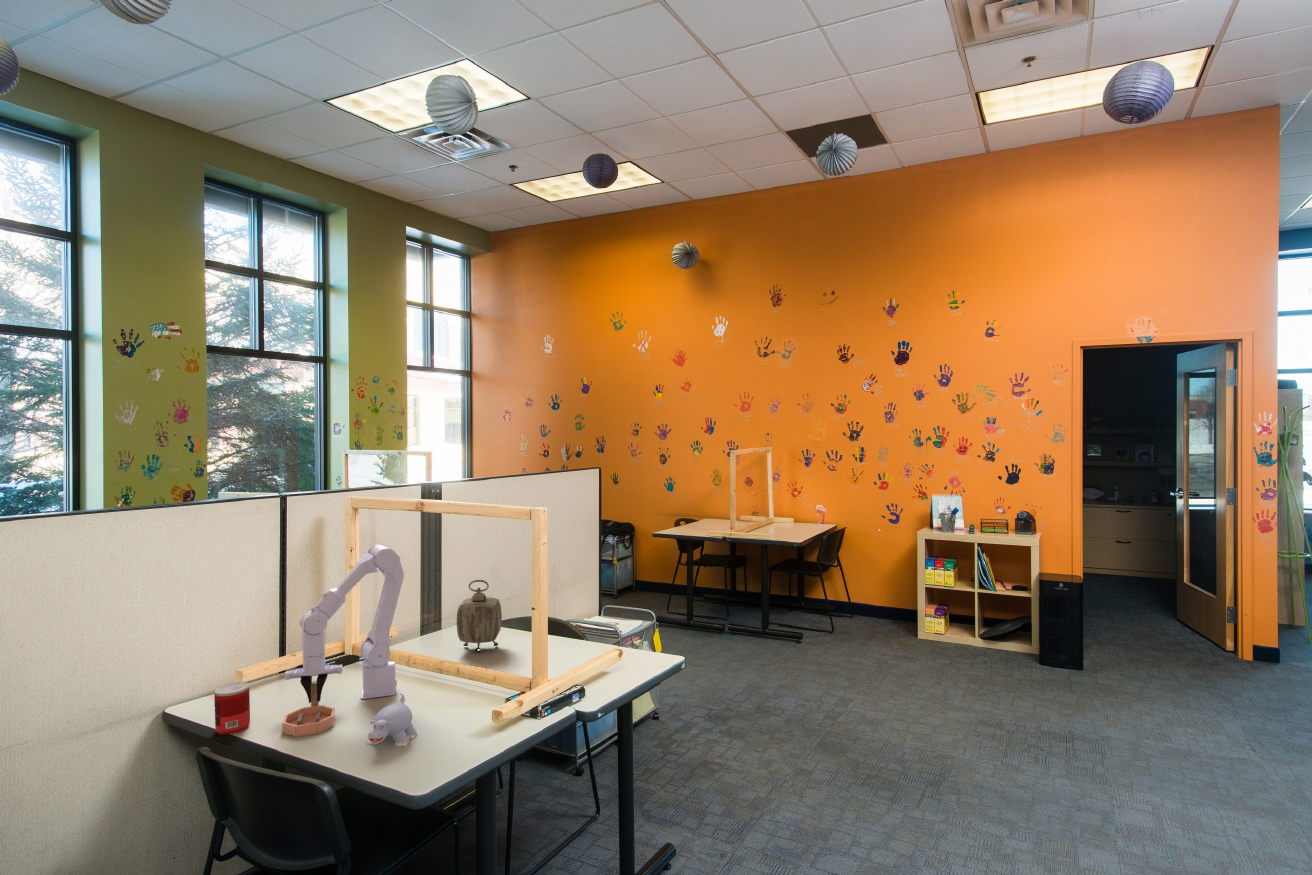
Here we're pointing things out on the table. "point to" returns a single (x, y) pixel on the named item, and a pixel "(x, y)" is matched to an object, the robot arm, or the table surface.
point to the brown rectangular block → (314, 694)
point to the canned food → (232, 708)
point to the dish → (308, 720)
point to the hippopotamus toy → (393, 724)
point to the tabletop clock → (479, 618)
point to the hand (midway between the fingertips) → (314, 700)
